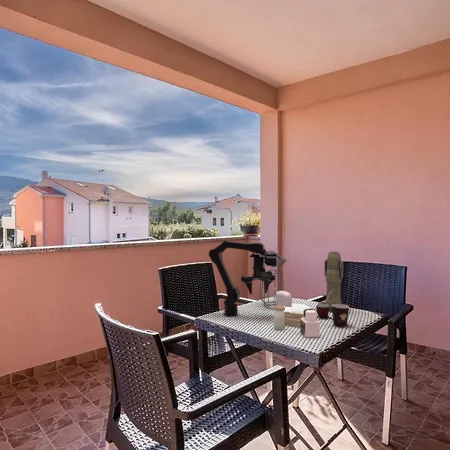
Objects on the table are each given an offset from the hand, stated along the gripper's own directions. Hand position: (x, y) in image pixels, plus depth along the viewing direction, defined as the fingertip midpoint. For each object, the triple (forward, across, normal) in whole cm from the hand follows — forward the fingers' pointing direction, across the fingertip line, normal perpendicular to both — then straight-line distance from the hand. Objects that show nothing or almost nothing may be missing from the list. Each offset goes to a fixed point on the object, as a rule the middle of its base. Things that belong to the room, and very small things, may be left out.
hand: (258, 293), depth 198 cm
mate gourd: (+13, +33, -15) cm, 39 cm away
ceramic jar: (+13, -1, -22) cm, 26 cm away
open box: (+13, +11, -16) cm, 23 cm away
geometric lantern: (+13, +19, +17) cm, 29 cm away
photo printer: (+13, +19, +3) cm, 23 cm away
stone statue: (+13, +48, -6) cm, 50 cm away
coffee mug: (+13, +30, -29) cm, 44 cm away
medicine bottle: (+13, +7, -36) cm, 39 cm away
